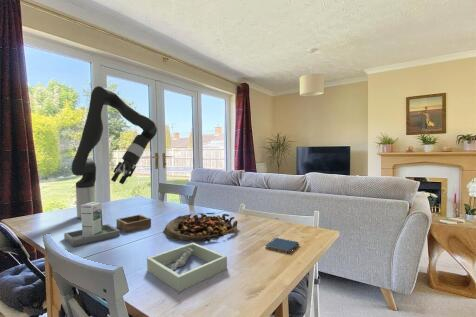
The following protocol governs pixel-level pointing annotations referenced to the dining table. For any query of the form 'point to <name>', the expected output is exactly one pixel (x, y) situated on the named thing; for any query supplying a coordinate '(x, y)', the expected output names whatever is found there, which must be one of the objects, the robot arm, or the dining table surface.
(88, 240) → the charcoal tray
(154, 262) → the sage display box
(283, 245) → the woven mat
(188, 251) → the soldier figure
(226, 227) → the food dish
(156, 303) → the dining table surface
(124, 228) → the walnut collar
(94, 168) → the robot arm
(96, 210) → the syrup box
